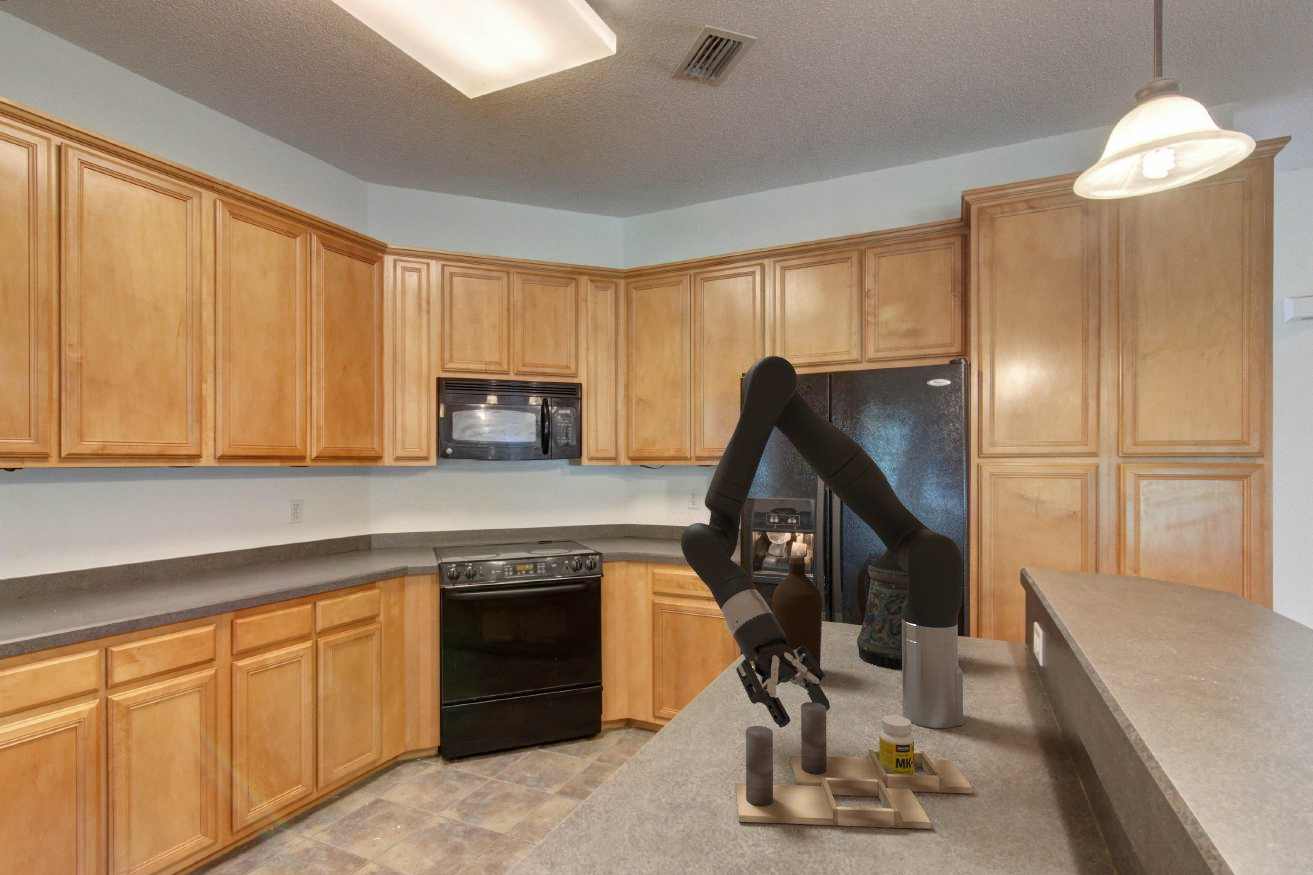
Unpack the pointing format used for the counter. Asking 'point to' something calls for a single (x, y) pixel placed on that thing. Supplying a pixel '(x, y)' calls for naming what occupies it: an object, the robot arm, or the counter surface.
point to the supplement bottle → (896, 745)
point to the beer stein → (884, 614)
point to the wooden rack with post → (865, 762)
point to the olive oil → (799, 609)
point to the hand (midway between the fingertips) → (806, 717)
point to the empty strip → (817, 795)
